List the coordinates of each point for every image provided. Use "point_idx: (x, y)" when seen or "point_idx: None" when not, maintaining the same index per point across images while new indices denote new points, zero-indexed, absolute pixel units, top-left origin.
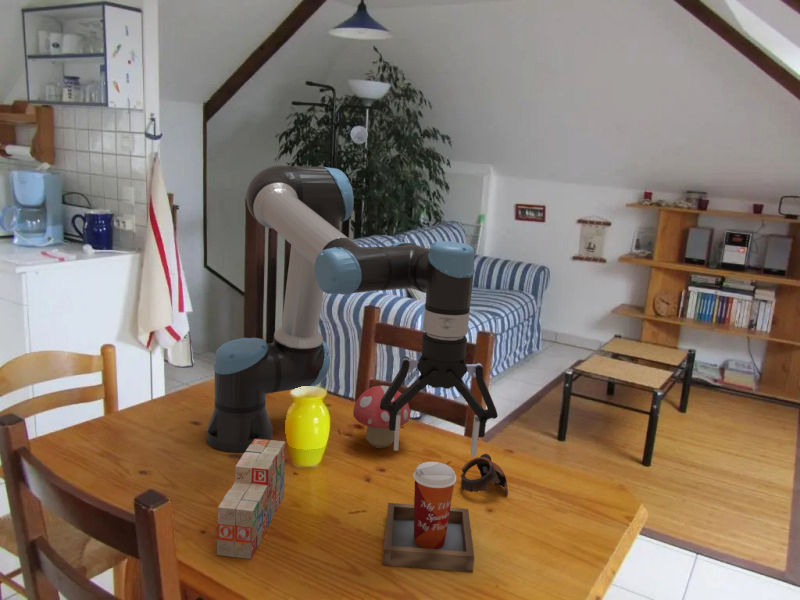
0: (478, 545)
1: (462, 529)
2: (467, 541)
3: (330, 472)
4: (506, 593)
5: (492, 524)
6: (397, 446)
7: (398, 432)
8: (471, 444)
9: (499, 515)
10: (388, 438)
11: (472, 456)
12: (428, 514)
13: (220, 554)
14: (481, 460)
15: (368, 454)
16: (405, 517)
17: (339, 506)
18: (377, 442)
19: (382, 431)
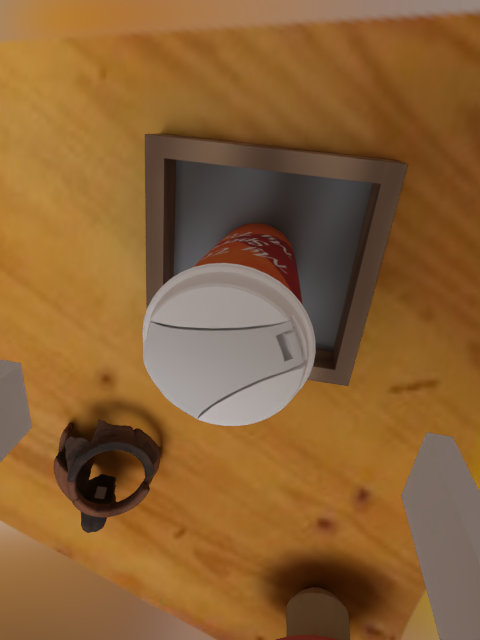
0: (139, 249)
1: None
2: (158, 209)
3: None
4: (81, 36)
5: (103, 328)
6: (439, 452)
7: (476, 539)
8: (9, 442)
9: (87, 360)
10: (302, 608)
11: (17, 363)
12: (262, 246)
13: None
14: (96, 506)
15: (344, 572)
16: None
17: (455, 408)
18: (327, 600)
19: (318, 628)
